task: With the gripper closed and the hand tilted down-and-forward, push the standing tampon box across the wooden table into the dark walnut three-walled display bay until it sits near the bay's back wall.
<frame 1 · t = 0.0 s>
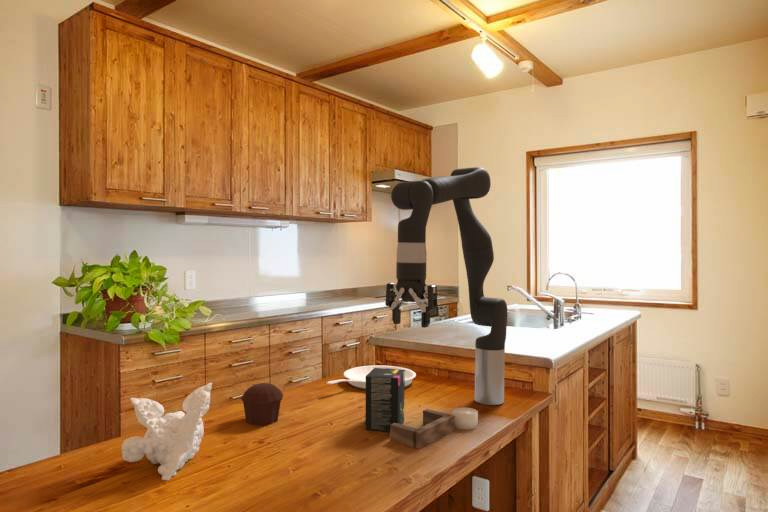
hand: (410, 325, 131), 29 cm above the table, tool pointing down, fingers open, 8 cm apart
muffin: (262, 420, 146), on the table
pan: (368, 386, 184), on the table
white animal figurine: (168, 464, 116), on the table
tampon box: (385, 425, 143), on the table
rounded cream block: (464, 425, 144), on the table
display bay: (421, 434, 136), on the table
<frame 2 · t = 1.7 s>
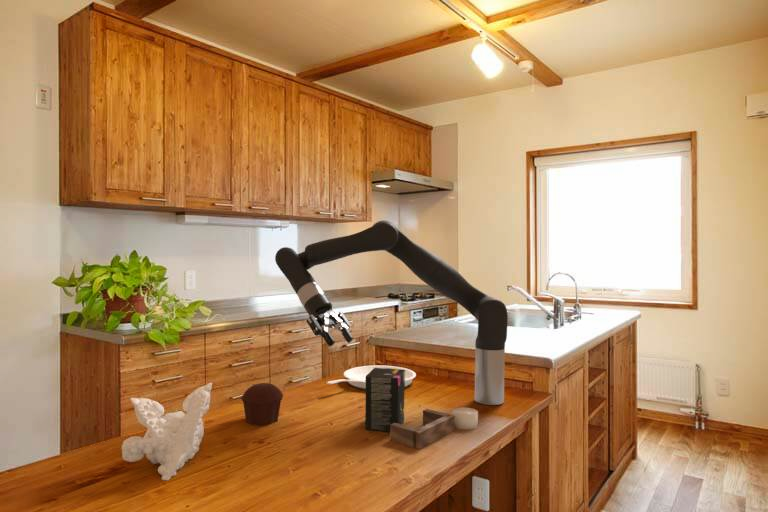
hand: (341, 342, 153), 21 cm above the table, tool tilted 45°, fingers open, 7 cm apart
nothing on the table moved.
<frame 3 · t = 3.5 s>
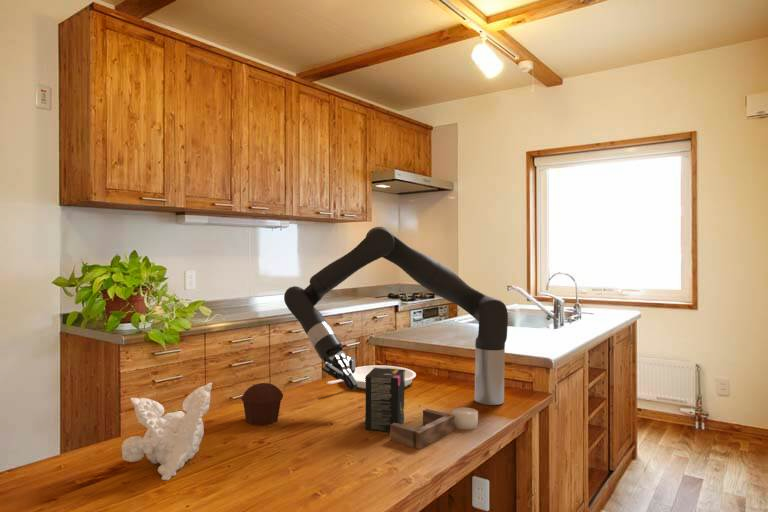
hand: (354, 388, 150), 8 cm above the table, tool tilted 45°, fingers closed
nothing on the table moved.
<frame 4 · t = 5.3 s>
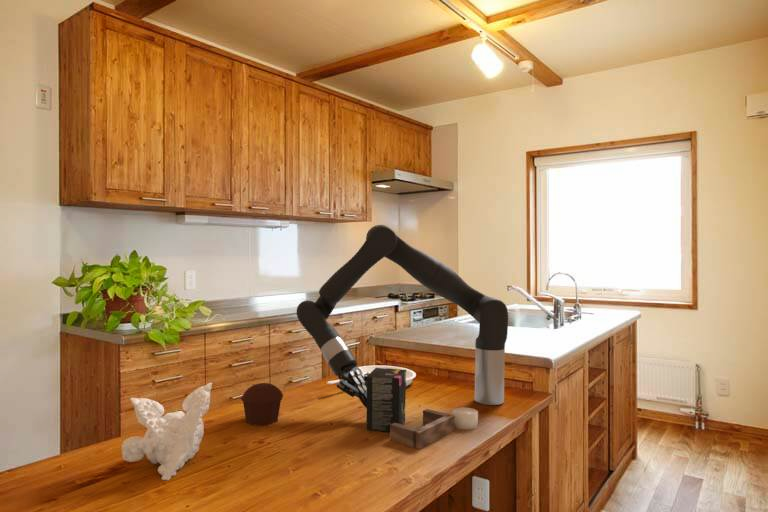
hand: (369, 405, 147), 4 cm above the table, tool tilted 45°, fingers closed
tampon box: (386, 426, 143), on the table, touching gripper
everything else where it was.
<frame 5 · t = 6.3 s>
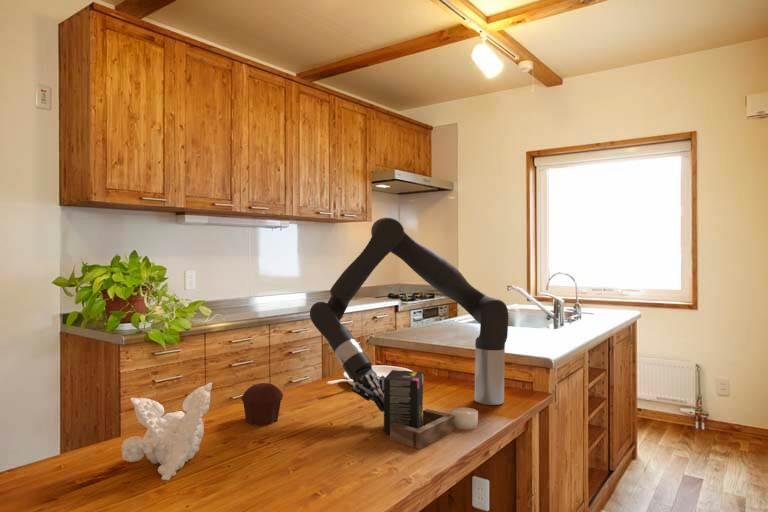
hand: (385, 409, 143), 4 cm above the table, tool tilted 45°, fingers closed
tampon box: (403, 429, 140), on the table, touching gripper
everything else where it was.
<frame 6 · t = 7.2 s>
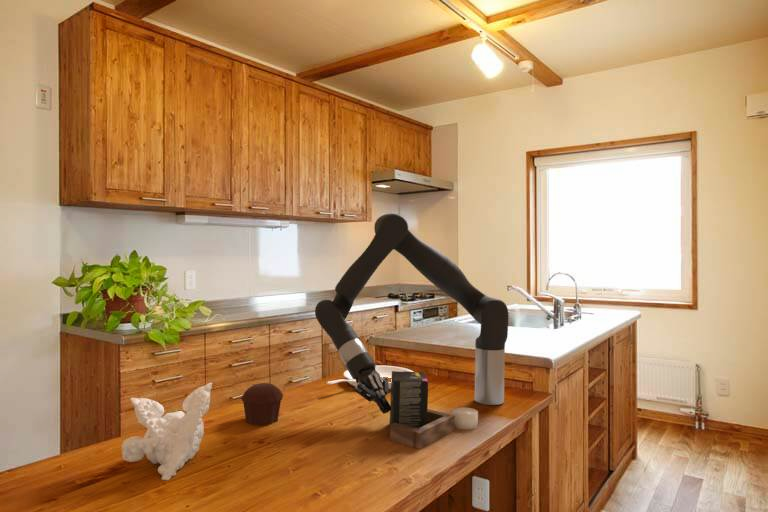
hand: (387, 411, 141), 4 cm above the table, tool tilted 45°, fingers closed
tampon box: (407, 430, 139), on the table, touching display bay, gripper
everything else where it was.
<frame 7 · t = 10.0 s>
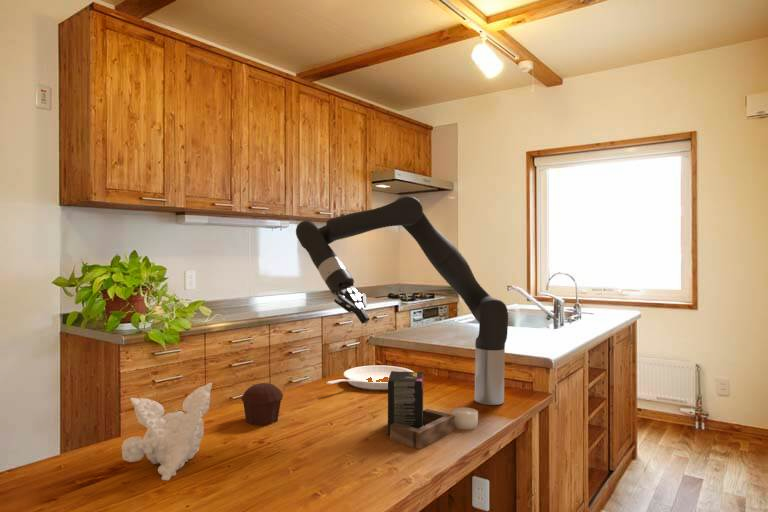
hand: (366, 321, 148), 28 cm above the table, tool tilted 45°, fingers closed
tampon box: (405, 430, 140), on the table
everything else where it was.
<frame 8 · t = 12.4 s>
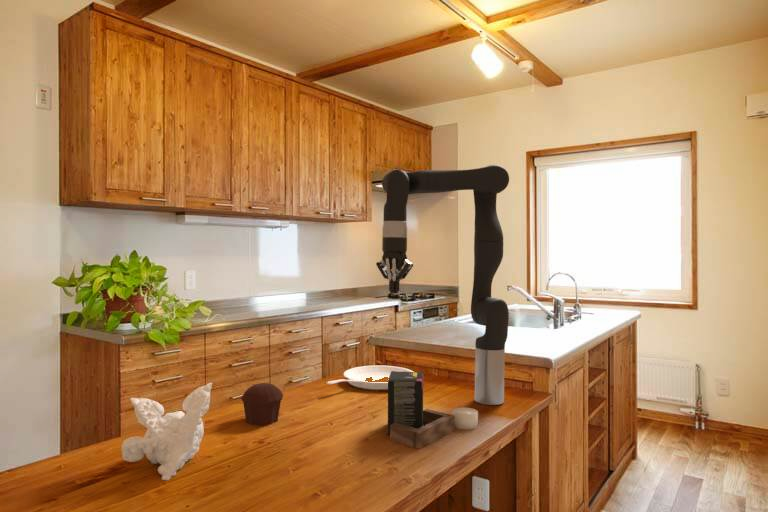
hand: (394, 293, 159), 35 cm above the table, tool pointing down, fingers closed
nothing on the table moved.
at the end: tampon box inside the target area (2.7 cm from its centre), on the table; tampon box tilted 0°; tampon box moved 6.4 cm from its start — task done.
